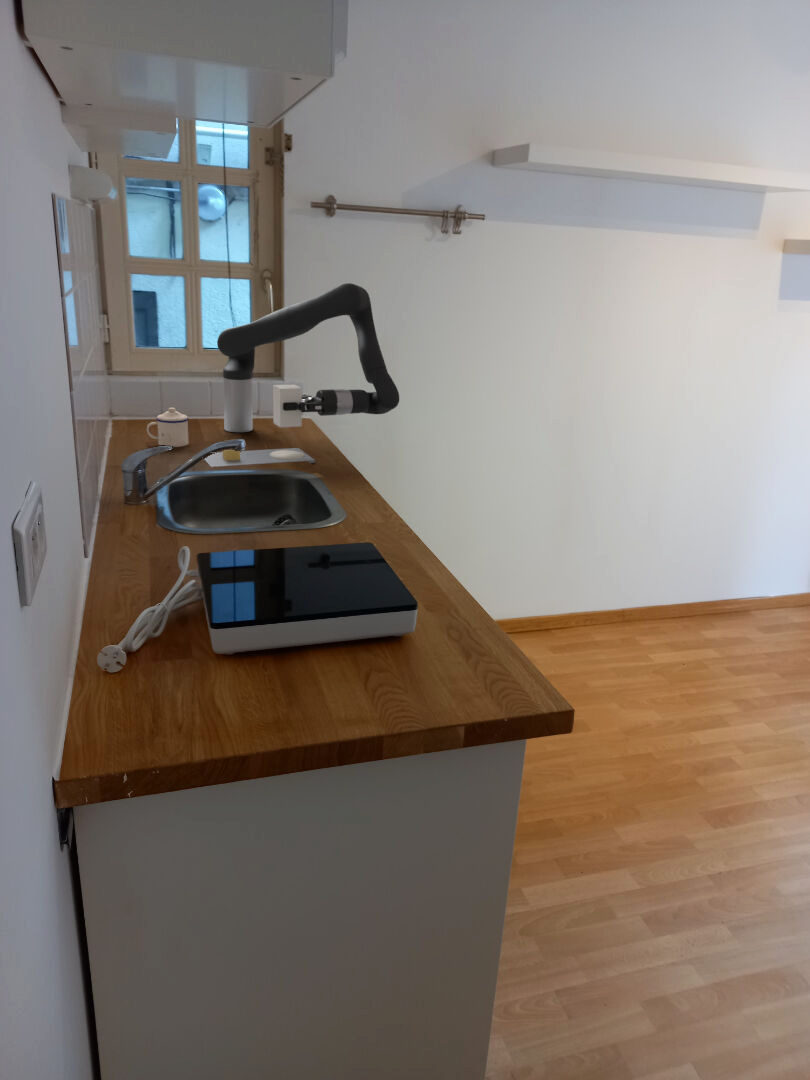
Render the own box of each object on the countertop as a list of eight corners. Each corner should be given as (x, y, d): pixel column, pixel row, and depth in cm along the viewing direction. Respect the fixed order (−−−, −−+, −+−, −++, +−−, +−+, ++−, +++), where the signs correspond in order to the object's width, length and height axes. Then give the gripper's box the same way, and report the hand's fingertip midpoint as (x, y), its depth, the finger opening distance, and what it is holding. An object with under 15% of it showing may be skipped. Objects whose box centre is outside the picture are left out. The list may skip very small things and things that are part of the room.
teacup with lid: (190, 443, 239) (189, 405, 235) (188, 450, 231) (186, 411, 227) (149, 442, 237) (147, 404, 233) (146, 450, 229) (143, 410, 224)
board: (199, 456, 225) (198, 452, 224) (298, 451, 238) (298, 447, 237) (211, 470, 212) (211, 466, 212) (315, 463, 225) (315, 459, 225)
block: (222, 457, 222) (222, 446, 221) (236, 456, 224) (236, 446, 223) (226, 460, 219) (225, 450, 218) (240, 459, 221) (239, 449, 220)
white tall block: (273, 422, 227) (273, 384, 223) (294, 421, 229) (294, 384, 226) (280, 427, 221) (280, 388, 218) (301, 426, 224) (301, 388, 220)
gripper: (325, 385, 234) (271, 387, 227) (343, 393, 222) (287, 395, 215) (325, 410, 237) (272, 412, 230) (343, 419, 225) (287, 422, 218)
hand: (279, 404), depth 222 cm, fingers closed on white tall block, 6 cm apart
